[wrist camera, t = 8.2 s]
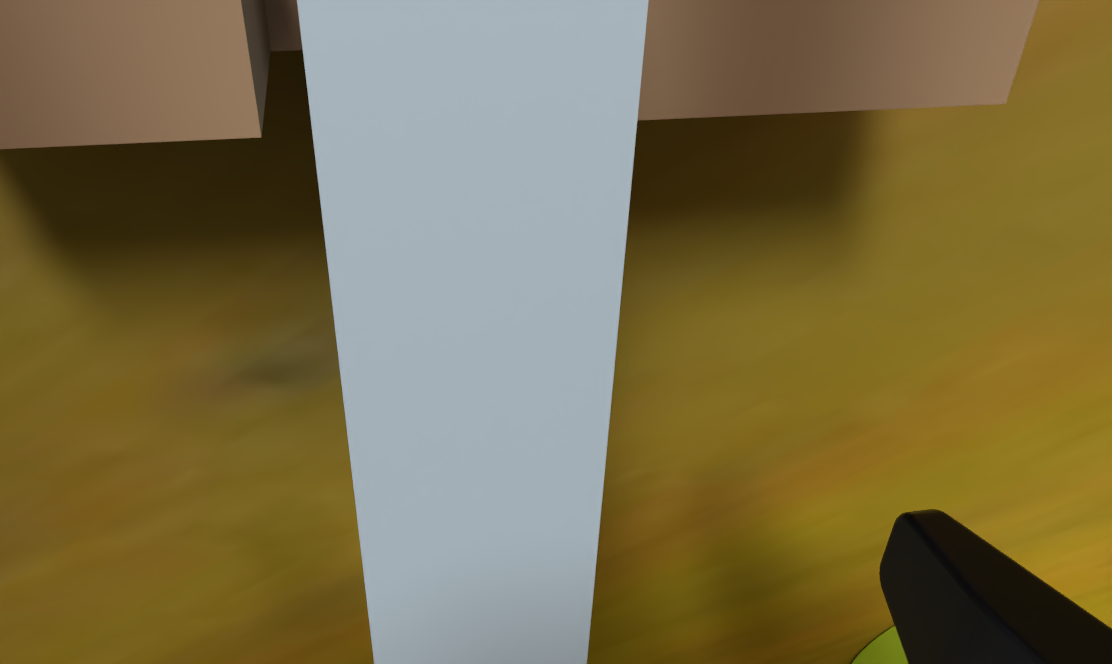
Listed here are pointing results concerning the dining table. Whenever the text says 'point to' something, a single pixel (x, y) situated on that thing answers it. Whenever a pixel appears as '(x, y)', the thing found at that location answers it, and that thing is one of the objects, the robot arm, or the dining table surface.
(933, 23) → the brown wooden block
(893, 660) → the soap dispenser
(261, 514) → the dining table surface
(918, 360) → the dining table surface
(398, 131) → the light blue rectangular panel
